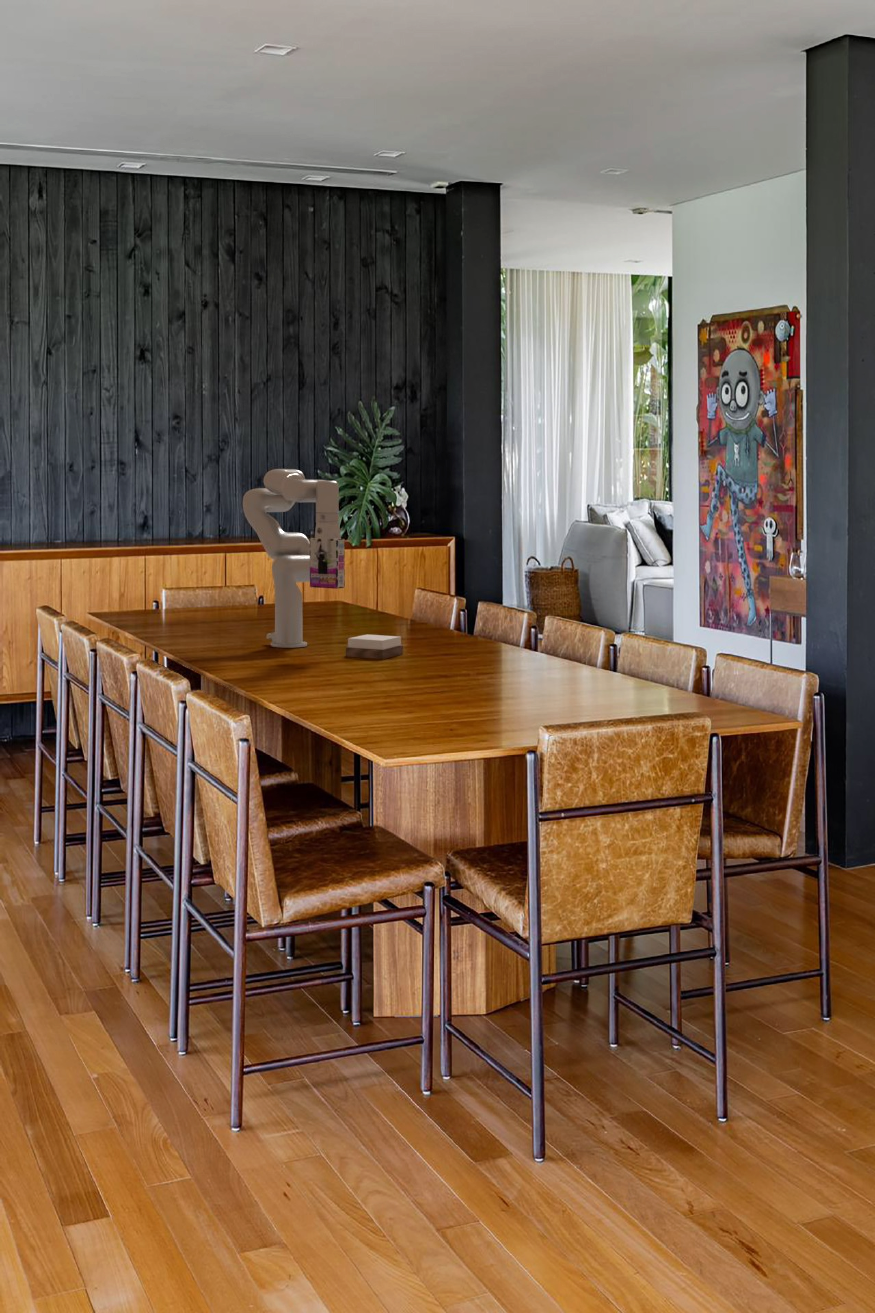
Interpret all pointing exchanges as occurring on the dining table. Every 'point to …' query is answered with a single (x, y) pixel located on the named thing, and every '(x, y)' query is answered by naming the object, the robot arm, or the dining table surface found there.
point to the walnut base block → (374, 652)
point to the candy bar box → (329, 566)
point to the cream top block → (374, 642)
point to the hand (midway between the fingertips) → (327, 572)
